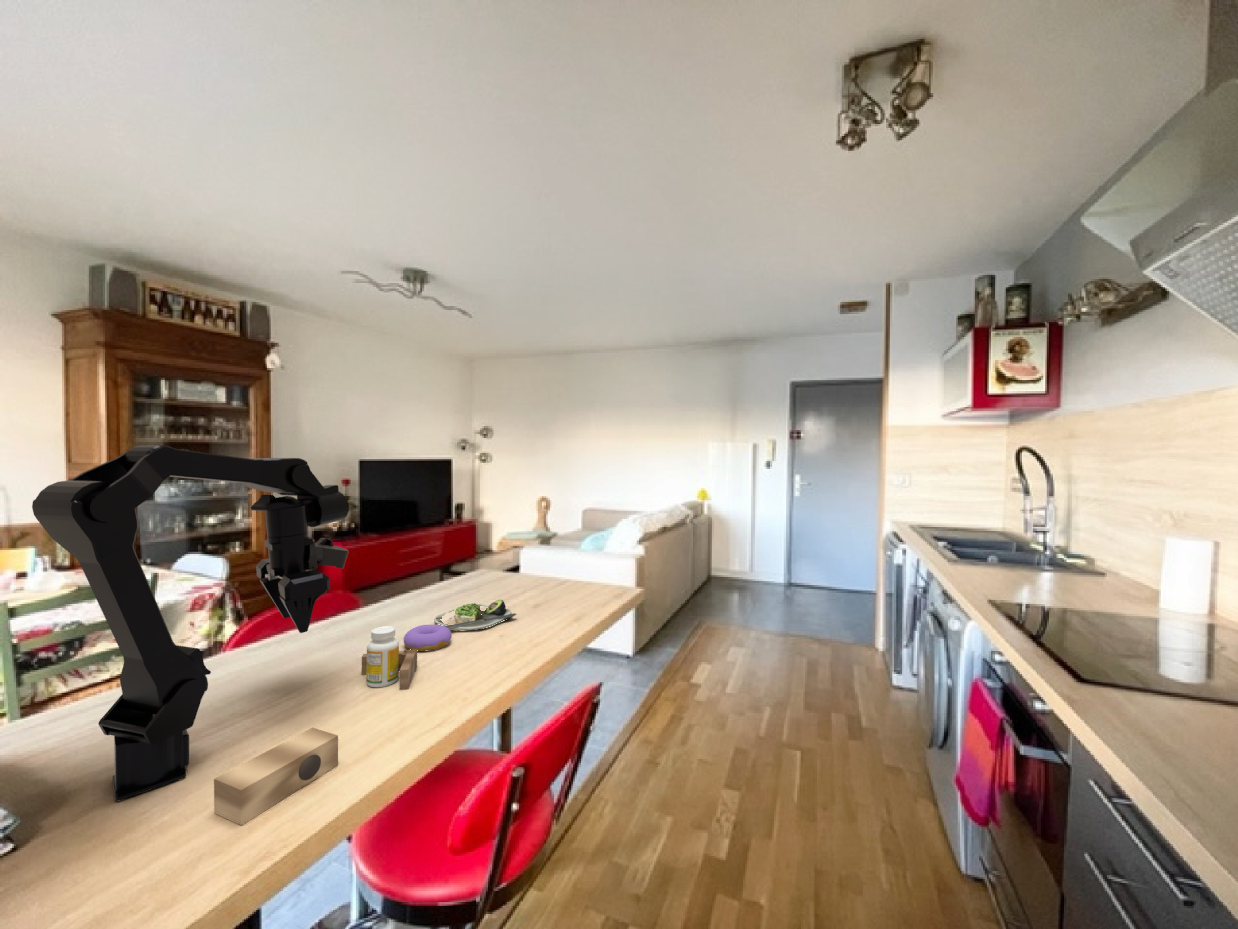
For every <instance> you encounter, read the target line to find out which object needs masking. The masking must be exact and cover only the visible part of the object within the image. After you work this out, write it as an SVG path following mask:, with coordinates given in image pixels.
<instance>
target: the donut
mask: <svg viewBox="0 0 1238 929" xmlns="http://www.w3.org/2000/svg"><path fill="white" fill-rule="evenodd" d="M451 631H452V630H449V629H448V628H447V627H445V626H441V625H437V624H422V625H417V626H415V627H413V628H411V629H410V630H408V631H407V632H406V633H405V634H404V637H403V639H402V640H403V644H404V646H405V647H406V649H407V650H410V649H411V650H414V649H417V650H418V651H417V652H419V651H424V652H426V651H425V650H433V651H436V650H435V649H437V650H439V649H438V648H440V649H442V648H444V647H446V645H448V644H450V641H451V639H452V632H451ZM441 647H442V648H441Z"/></svg>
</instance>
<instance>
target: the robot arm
mask: <svg viewBox="0 0 1238 929" xmlns="http://www.w3.org/2000/svg"><path fill="white" fill-rule="evenodd" d="M168 478H183V479H193V480H201V481H202V480H205V481H216V482H224V483H225V482H227V483H236V484H240V485H242V486H245V487H247V488H249V489H254V490H256V491H261V492H264V493H273V494H261V495H260V497H259V499H258V500H256V501H255V502H254V503H253V504H252V505H251V507H250V510H252V511H257V512H258V511H259V512H260V511H262V512H265V514H264V515H265V523H266V524H265V526H266V528H265V529H266V539H264V541H263V542H264V547H265V548H266V549H267V550H268V551H267V552H268V558H263V559H261V560H260V561H259V562H258V563H257V564H256V565H255V571H256V577H257V578H259V581H260V583H261V585H262V586H263V588H264V589H265V591H266V593H267V594H268V596H269V597H270V599H271V600H272V602H273V603H274V604H275V606H276V609H278V612H279V613H280V615H281V616H282V618H283V619H287V618H290V619H291V620H292V622H293V623H294V625H295V627H296V629H297V631H298V632H299V633H300V634H303V633H306V632H308V630H309V628H310V623H311V618H312V614H313V610H314V607H315V604H316V601H317V600H318V599H319V598H320V597H321V596H322V595H325V594H327V591H329V590H331V580H330V576H327V575H326V574H324V573H323V572H322V571H319V570H318V569H319V568H318V566H325V567H327V566H328V567H335V568H336V569H345V568H344V567H345V564H346V561H347V558H348V555H349V550H348V549H346V548H343V547H341V546H338V545H334V542H333V540H332V539H330V538H327V537H325V538H324V537H320V538H319V539H318V540H317V541H315V539H314V538H313V537H310V534H309V533H310V532H309V527H310V528H315V527H320V526H324V525H328V524H332V523H337V522H340V521H343V520H344V519H345V518H347V517H348V514H349V512H350V504H349V502H348V499H347V498H346V496H345V495H344V494H343V493H342V492H340V490H339V485H338V484H326V485H323V484H322V483H321V482H320V481H319V480H318V478H317V477H316V476H315V474H314V473H313V472H312V470H311V468H310V466H309V464H308V461H307V460H305V459H302V458H299V457H262V458H256V457H255V458H244V457H240V456H231V455H224V454H223V455H222V454H217V453H209V452H202V451H195V450H187V449H179V448H174V447H172V446H169V445H164V444H161V445H160V444H155V445H154V444H151V445H150V444H147V445H146V444H144V445H141V444H140V445H136V446H132V448H130V449H128V450H127V451H125V452H124V453H122V454H120V455H118V456H116V457H115V458H112V459H110V460H109V461H106V462H104V463H102V464H99V465H96V466H94V467H92V468H90V469H87V470H85V471H82V472H81V473H80V474H78V475H76V476H75V477H73V478H71V479H68V480H67V479H66V480H62V481H57V482H54V483H52V484H48V485H47V486H46V487H45V488H44V489H43V488H42V490H41V491H40V492H39V493H38V495H37V496H36V498H35V499H33V500H32V505H31V508H32V512H33V516H34V517H35V519H36V520H37V521H38V523H39V524H40V525H41V527H43V529H44V530H45V532H46V533H47V534H48V535H49V536H50V538H51V539H52V540H53V541H54V542H55V543H57V544H58V545H60V547H62V548H63V549H64V550H65V551H67V552H68V553H69V554H70V555H71V556H72V557H74V558H75V559H76V560H77V561H78V563H79V566H80V567H81V569H82V571H83V574H84V575H85V578H86V580H87V582H88V584H89V587H90V588H91V591H92V592H93V595H94V597H95V599H96V602H97V603H98V605H99V607H100V610H101V612H102V614H103V616H104V619H105V620H106V623H107V624H108V626H109V630H110V631H111V634H112V635H113V638H114V640H115V642H116V645H117V646H118V648H119V650H120V653H121V655H122V656H123V657H122V658H123V665H122V669H121V672H120V675H119V676H120V677H119V682H120V683H119V684H120V687H121V688H120V690H121V695H120V696H119V697H118V698H117V700H115V702H114V703H113V704H112V706H111V707H110V708H109V709H108V710H107V711H106V713H104V715H102V717H101V718H100V720H99V721H98V727H99V728H100V729H101V731H102V733H103V735H105V736H113V738H114V740H113V741H114V746H113V748H114V750H113V752H114V754H113V755H114V757H113V758H114V775H113V776H112V787H113V795H114V801H115V802H119V801H122V800H126V799H128V798H131V797H133V796H137V795H139V794H142V793H145V792H148V791H150V790H154V789H157V788H159V787H162V786H165V785H168V784H171V783H174V782H176V781H179V780H181V779H184V778H185V777H187V770H186V767H188V765H190V735H189V731H188V729H190V728H192V727H193V726H194V724H195V721H196V718H197V717H196V716H197V714H198V712H199V711H198V710H199V708H200V705H201V702H202V699H203V697H204V694H205V693H206V692H207V691H208V688H209V682H208V677H207V675H211V673H212V672H211V670H210V669H208V668H207V667H206V665H205V662H204V658H203V657H204V656H203V653H202V651H201V649H200V648H198V647H192V646H185V645H179V644H178V645H177V644H176V643H175V642H174V640H173V637H172V635H171V633H170V630H169V628H168V626H167V623H166V620H165V619H164V616H163V615H162V611H161V610H160V607H159V605H158V602H157V600H156V597H155V595H154V593H153V590H152V588H151V587H150V586H151V585H150V583H149V581H148V578H147V577H146V576H147V575H146V574H145V572H144V570H143V567H142V565H141V562H140V560H139V557H138V555H137V552H136V550H135V547H134V546H135V545H134V543H135V540H136V535H137V531H138V526H139V519H138V516H137V515H138V514H137V510H136V508H137V507H139V506H140V505H141V504H143V503H145V501H147V500H148V499H151V497H153V495H154V494H155V493H156V492H157V490H158V489H159V487H161V485H162V484H163V482H164V481H165V480H166V479H168ZM274 493H276V494H278V495H280V496H277V497H276V496H275V495H274Z"/></svg>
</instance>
